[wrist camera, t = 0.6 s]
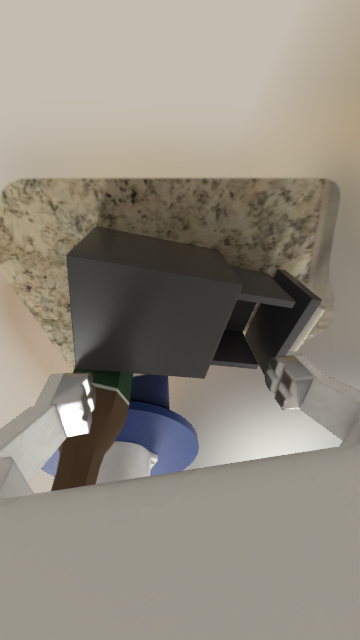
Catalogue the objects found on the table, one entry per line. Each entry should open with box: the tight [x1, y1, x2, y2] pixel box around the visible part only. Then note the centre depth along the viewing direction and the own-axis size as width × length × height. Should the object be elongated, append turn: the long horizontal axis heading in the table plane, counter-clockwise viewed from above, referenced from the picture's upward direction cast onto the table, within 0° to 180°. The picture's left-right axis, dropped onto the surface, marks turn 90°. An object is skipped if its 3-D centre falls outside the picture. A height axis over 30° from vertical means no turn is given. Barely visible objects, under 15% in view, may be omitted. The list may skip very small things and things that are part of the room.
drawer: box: [210, 266, 326, 375], centre depth 27 cm, size 18×11×8 cm, turn 78°
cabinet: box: [66, 227, 243, 378], centre depth 25 cm, size 15×13×10 cm
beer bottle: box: [51, 367, 133, 491], centre depth 25 cm, size 8×8×24 cm
